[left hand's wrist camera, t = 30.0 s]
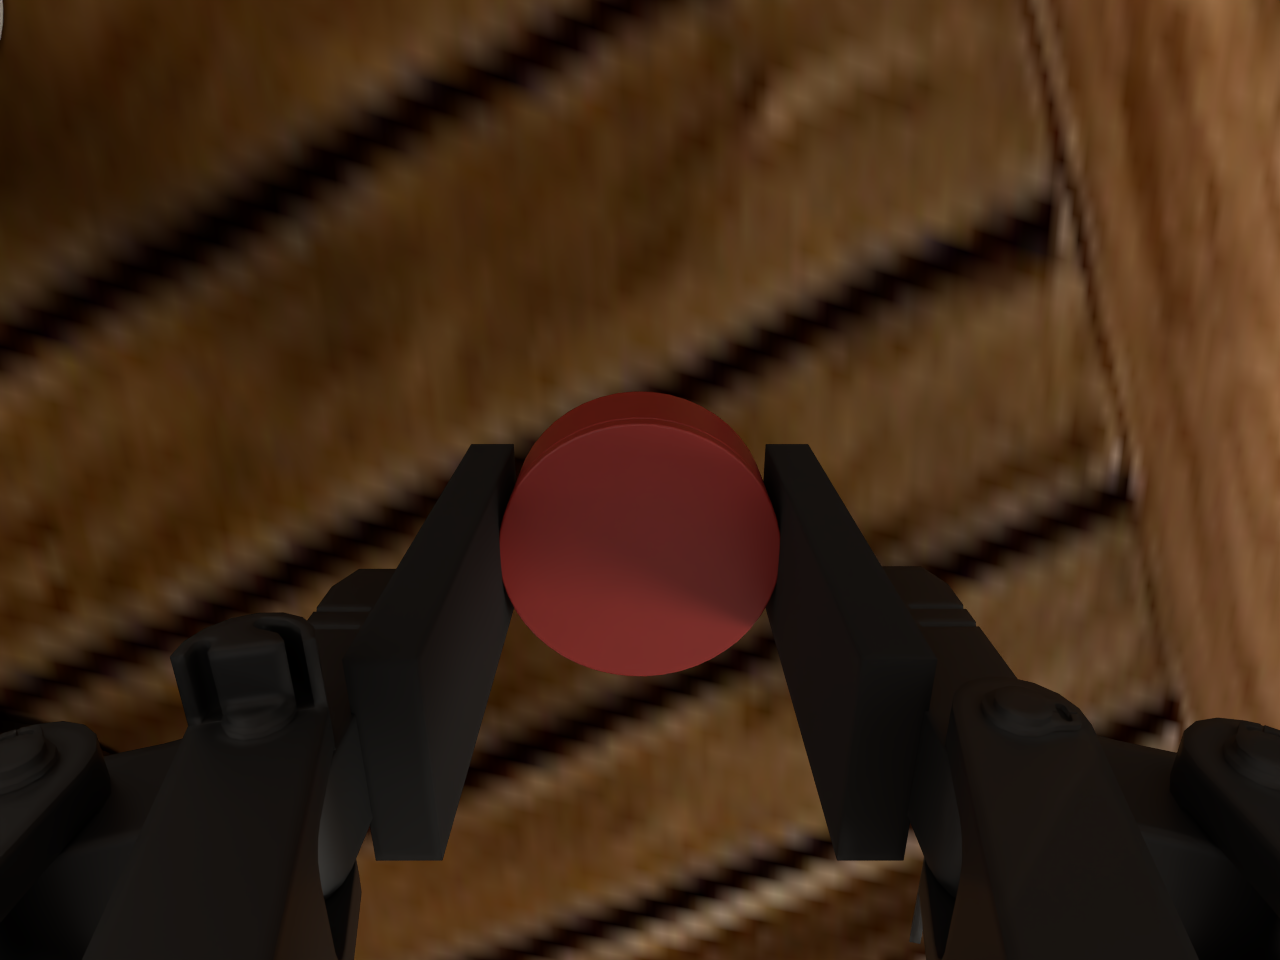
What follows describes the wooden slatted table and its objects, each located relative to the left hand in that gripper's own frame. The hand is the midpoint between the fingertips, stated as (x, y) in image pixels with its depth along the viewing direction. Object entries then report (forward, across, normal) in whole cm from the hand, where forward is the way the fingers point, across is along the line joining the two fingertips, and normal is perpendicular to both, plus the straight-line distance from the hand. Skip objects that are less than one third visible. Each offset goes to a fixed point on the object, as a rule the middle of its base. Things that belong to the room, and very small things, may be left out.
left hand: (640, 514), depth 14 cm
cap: (-2, 0, 0) cm, 2 cm away
